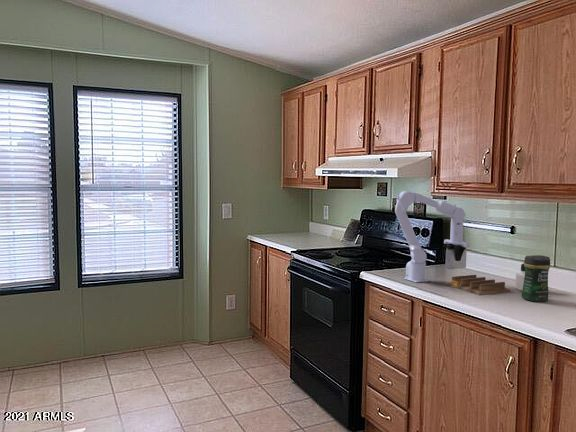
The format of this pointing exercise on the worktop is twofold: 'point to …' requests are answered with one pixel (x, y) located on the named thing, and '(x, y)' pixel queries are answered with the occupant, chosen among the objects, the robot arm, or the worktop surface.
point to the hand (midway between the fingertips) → (455, 260)
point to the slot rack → (477, 284)
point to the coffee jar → (536, 278)
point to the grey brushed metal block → (451, 259)
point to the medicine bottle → (520, 278)
